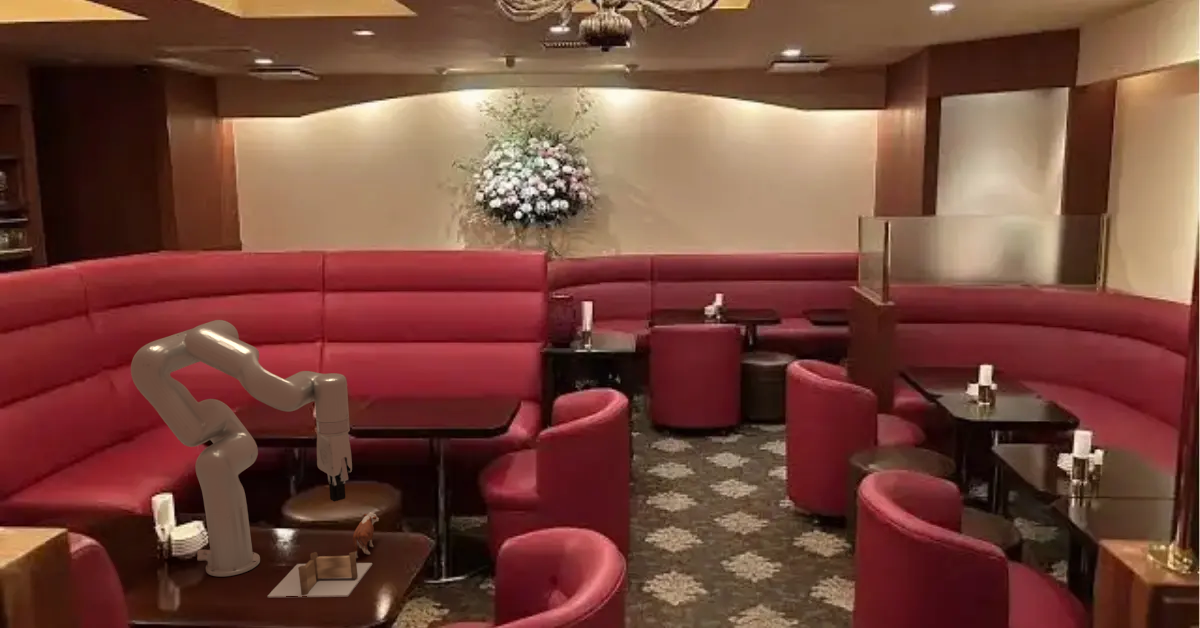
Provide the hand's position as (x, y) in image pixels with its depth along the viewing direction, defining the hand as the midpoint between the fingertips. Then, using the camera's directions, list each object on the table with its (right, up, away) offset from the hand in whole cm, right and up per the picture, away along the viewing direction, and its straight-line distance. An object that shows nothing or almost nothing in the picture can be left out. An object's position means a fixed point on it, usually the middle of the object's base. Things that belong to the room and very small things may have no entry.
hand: (337, 499), depth 228 cm
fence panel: (+1, -18, -5) cm, 18 cm away
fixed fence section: (-4, -19, -8) cm, 21 cm away
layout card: (-3, -19, -4) cm, 19 cm away
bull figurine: (+4, -16, +13) cm, 21 cm away
